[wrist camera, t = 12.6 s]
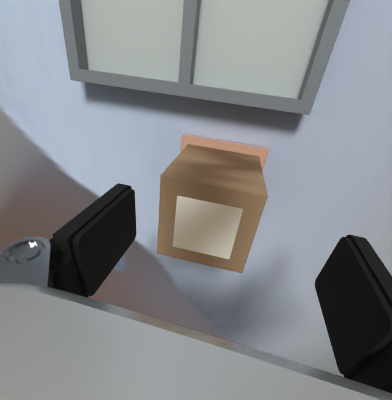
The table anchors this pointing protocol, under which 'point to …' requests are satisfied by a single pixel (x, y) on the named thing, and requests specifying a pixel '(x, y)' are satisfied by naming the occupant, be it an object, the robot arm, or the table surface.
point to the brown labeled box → (210, 206)
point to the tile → (226, 146)
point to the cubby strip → (206, 47)
